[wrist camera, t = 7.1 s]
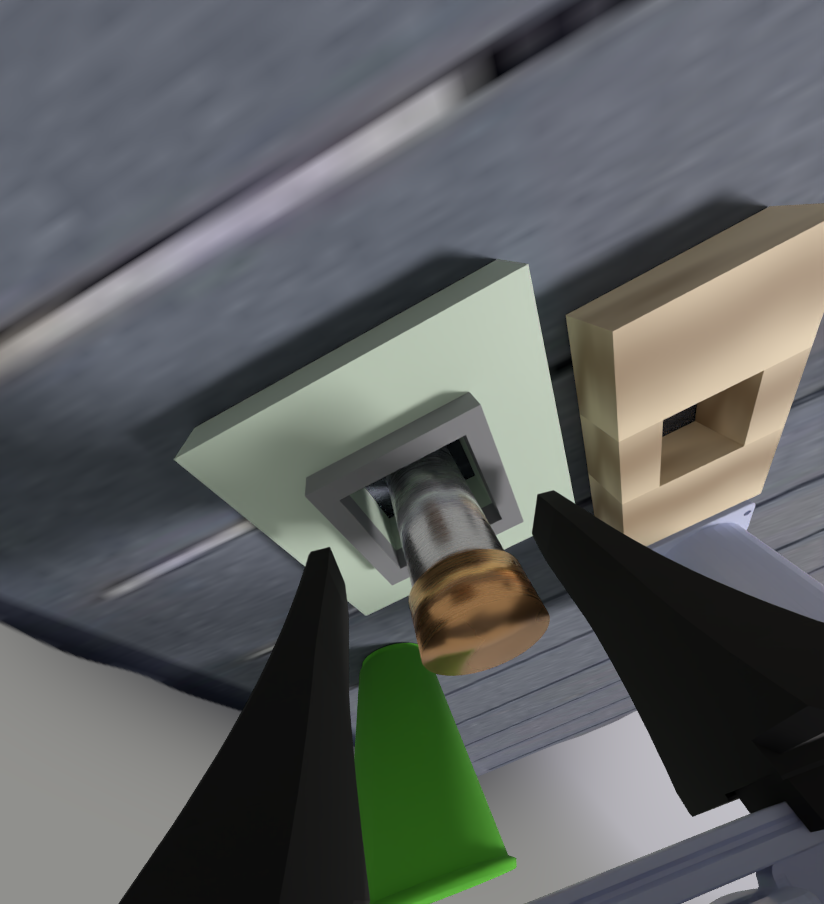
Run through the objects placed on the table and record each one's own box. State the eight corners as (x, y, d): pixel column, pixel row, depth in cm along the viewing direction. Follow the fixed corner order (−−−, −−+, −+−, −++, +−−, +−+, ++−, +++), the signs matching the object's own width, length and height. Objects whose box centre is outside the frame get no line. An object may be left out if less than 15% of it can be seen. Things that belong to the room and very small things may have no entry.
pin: (462, 467, 15) (559, 637, 9) (399, 500, 16) (450, 687, 9) (435, 413, 14) (534, 581, 7) (363, 451, 14) (397, 646, 7)
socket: (554, 488, 18) (590, 529, 15) (362, 582, 19) (368, 635, 16) (497, 259, 11) (547, 267, 8) (194, 427, 12) (160, 479, 9)
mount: (716, 466, 20) (760, 493, 18) (595, 524, 21) (625, 556, 18) (769, 206, 12) (862, 200, 10) (565, 315, 12) (612, 331, 10)
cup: (387, 696, 28) (415, 910, 19) (305, 675, 23) (293, 951, 14) (471, 646, 26) (545, 857, 17) (402, 612, 21) (458, 883, 12)
